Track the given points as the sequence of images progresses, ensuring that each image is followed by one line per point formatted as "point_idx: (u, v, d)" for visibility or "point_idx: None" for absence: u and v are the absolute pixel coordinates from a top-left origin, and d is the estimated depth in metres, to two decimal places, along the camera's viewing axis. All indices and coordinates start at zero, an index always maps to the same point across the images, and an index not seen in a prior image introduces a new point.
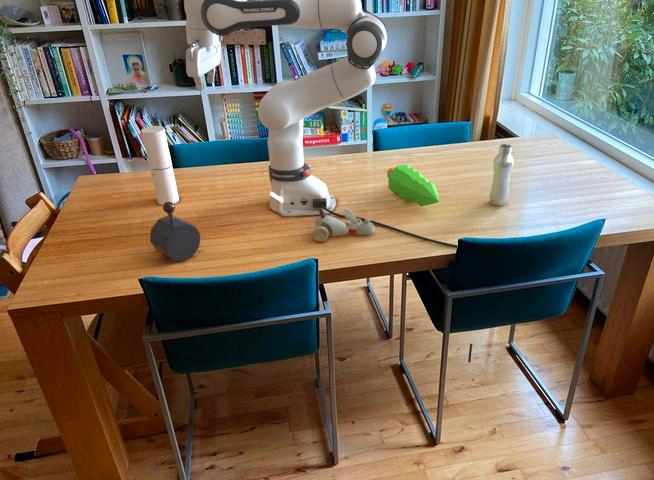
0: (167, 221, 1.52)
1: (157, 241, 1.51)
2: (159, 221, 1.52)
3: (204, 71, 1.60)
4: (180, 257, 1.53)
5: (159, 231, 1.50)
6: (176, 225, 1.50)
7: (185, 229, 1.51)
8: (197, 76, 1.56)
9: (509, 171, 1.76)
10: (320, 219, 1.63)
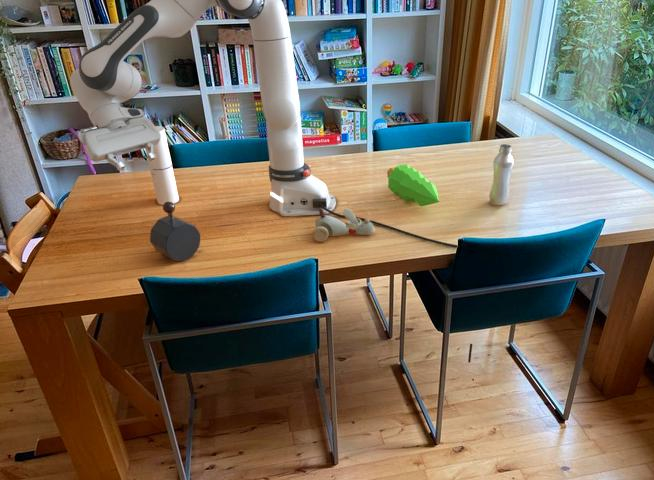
0: (167, 221, 1.52)
1: (157, 241, 1.51)
2: (159, 221, 1.52)
3: (111, 148, 1.47)
4: (180, 257, 1.53)
5: (159, 231, 1.50)
6: (176, 225, 1.50)
7: (185, 229, 1.51)
8: (95, 155, 1.44)
9: (509, 171, 1.76)
10: (320, 219, 1.63)
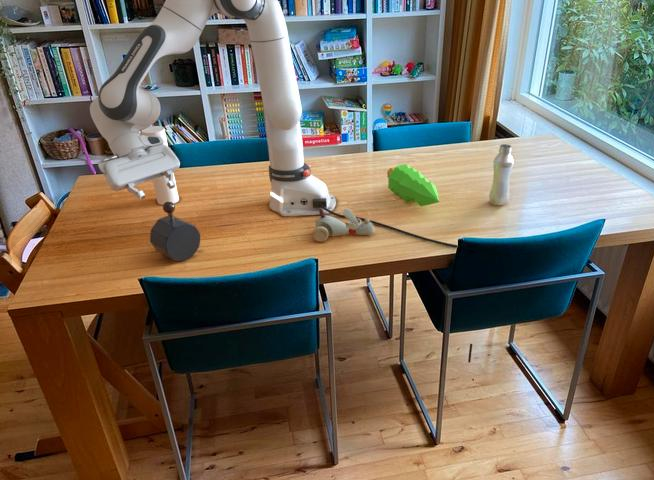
0: (167, 221, 1.52)
1: (157, 241, 1.51)
2: (159, 221, 1.52)
3: (131, 177, 1.46)
4: (180, 257, 1.53)
5: (159, 231, 1.50)
6: (176, 225, 1.50)
7: (185, 229, 1.51)
8: (116, 185, 1.43)
9: (509, 171, 1.76)
10: (320, 219, 1.63)
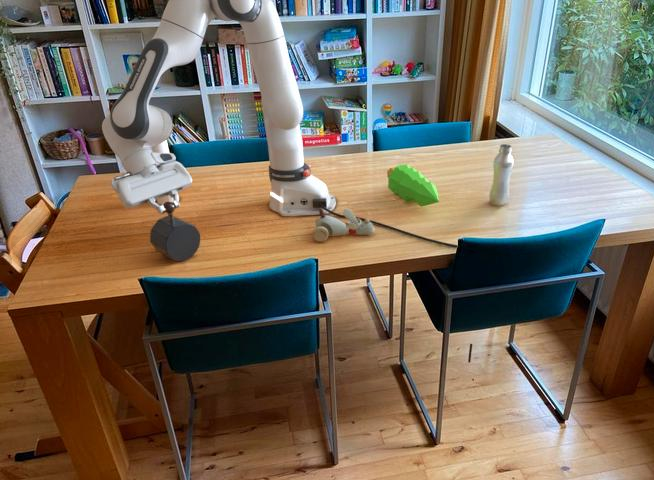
0: (167, 221, 1.52)
1: (157, 241, 1.51)
2: (159, 221, 1.52)
3: (144, 195, 1.45)
4: (180, 257, 1.53)
5: (159, 231, 1.50)
6: (176, 225, 1.50)
7: (185, 229, 1.51)
8: (129, 203, 1.42)
9: (509, 171, 1.76)
10: (320, 219, 1.63)
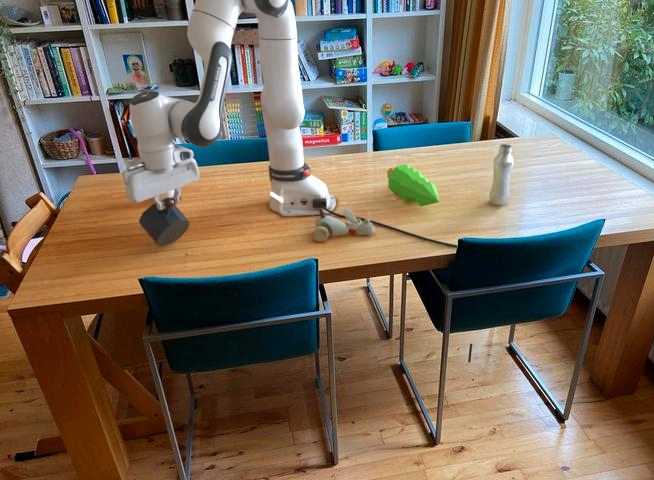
0: (162, 211, 1.52)
1: (148, 227, 1.52)
2: (153, 207, 1.52)
3: (151, 194, 1.42)
4: (166, 243, 1.58)
5: (152, 220, 1.51)
6: (171, 221, 1.51)
7: (178, 224, 1.54)
8: (134, 201, 1.40)
9: (509, 171, 1.76)
10: (320, 219, 1.63)
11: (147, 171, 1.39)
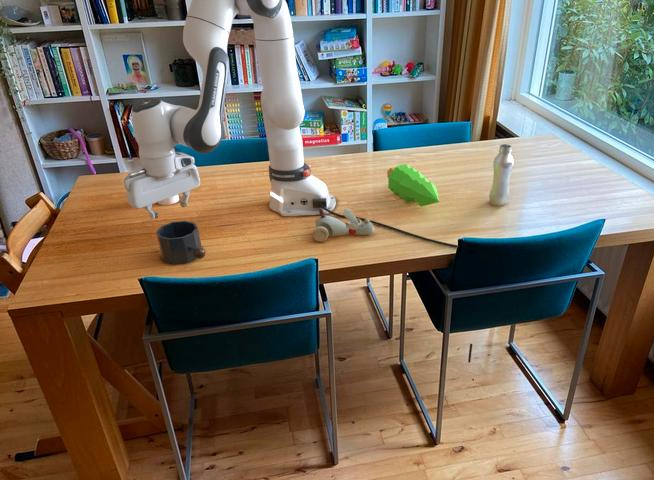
0: (187, 247, 1.52)
1: (165, 249, 1.51)
2: (181, 241, 1.50)
3: (152, 200, 1.43)
4: None
5: (174, 250, 1.51)
6: (190, 259, 1.54)
7: None
8: (136, 207, 1.41)
9: (509, 171, 1.76)
10: (320, 219, 1.63)
11: (148, 177, 1.40)
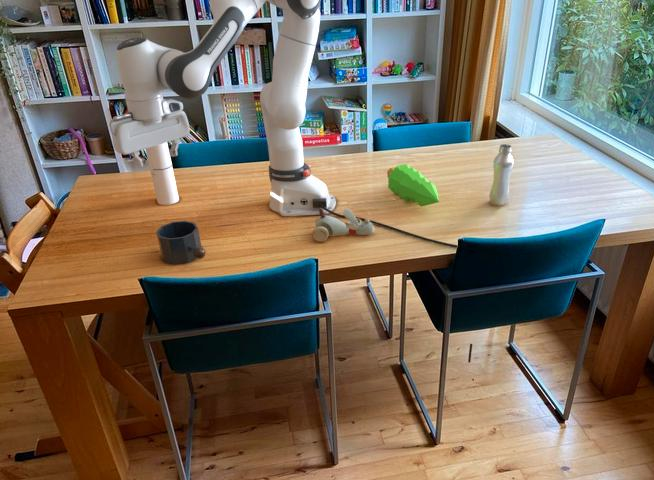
0: (187, 247, 1.52)
1: (165, 249, 1.51)
2: (181, 241, 1.50)
3: (140, 146, 1.38)
4: None
5: (174, 250, 1.51)
6: (190, 259, 1.54)
7: None
8: (122, 153, 1.35)
9: (509, 171, 1.76)
10: (320, 219, 1.63)
11: (135, 121, 1.35)
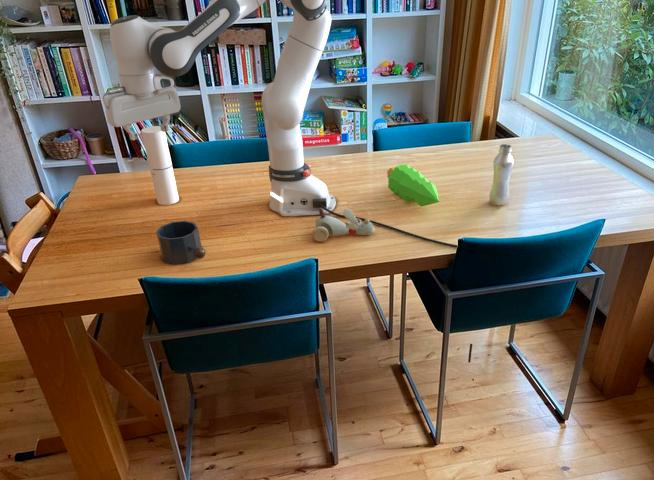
0: (187, 247, 1.52)
1: (165, 249, 1.51)
2: (181, 241, 1.50)
3: (132, 120, 1.45)
4: None
5: (174, 250, 1.51)
6: (190, 259, 1.54)
7: None
8: (115, 126, 1.42)
9: (509, 171, 1.76)
10: (320, 219, 1.63)
11: (127, 96, 1.42)
